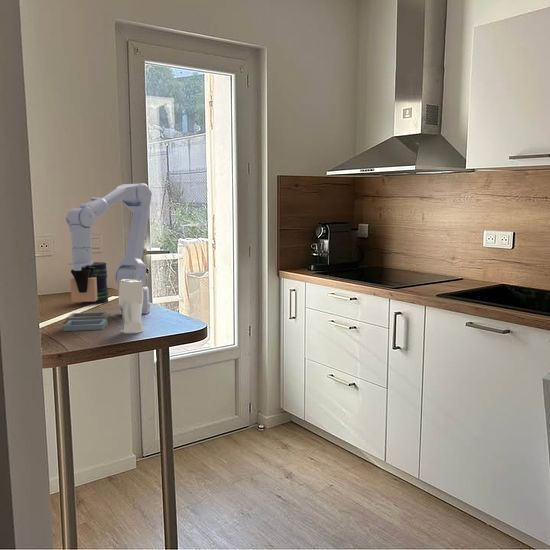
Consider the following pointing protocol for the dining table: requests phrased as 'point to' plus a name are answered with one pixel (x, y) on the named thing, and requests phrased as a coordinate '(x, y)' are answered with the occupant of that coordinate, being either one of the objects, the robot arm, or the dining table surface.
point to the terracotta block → (84, 297)
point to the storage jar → (100, 283)
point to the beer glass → (131, 305)
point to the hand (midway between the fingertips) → (84, 291)
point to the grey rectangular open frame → (87, 316)
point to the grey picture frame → (85, 325)
